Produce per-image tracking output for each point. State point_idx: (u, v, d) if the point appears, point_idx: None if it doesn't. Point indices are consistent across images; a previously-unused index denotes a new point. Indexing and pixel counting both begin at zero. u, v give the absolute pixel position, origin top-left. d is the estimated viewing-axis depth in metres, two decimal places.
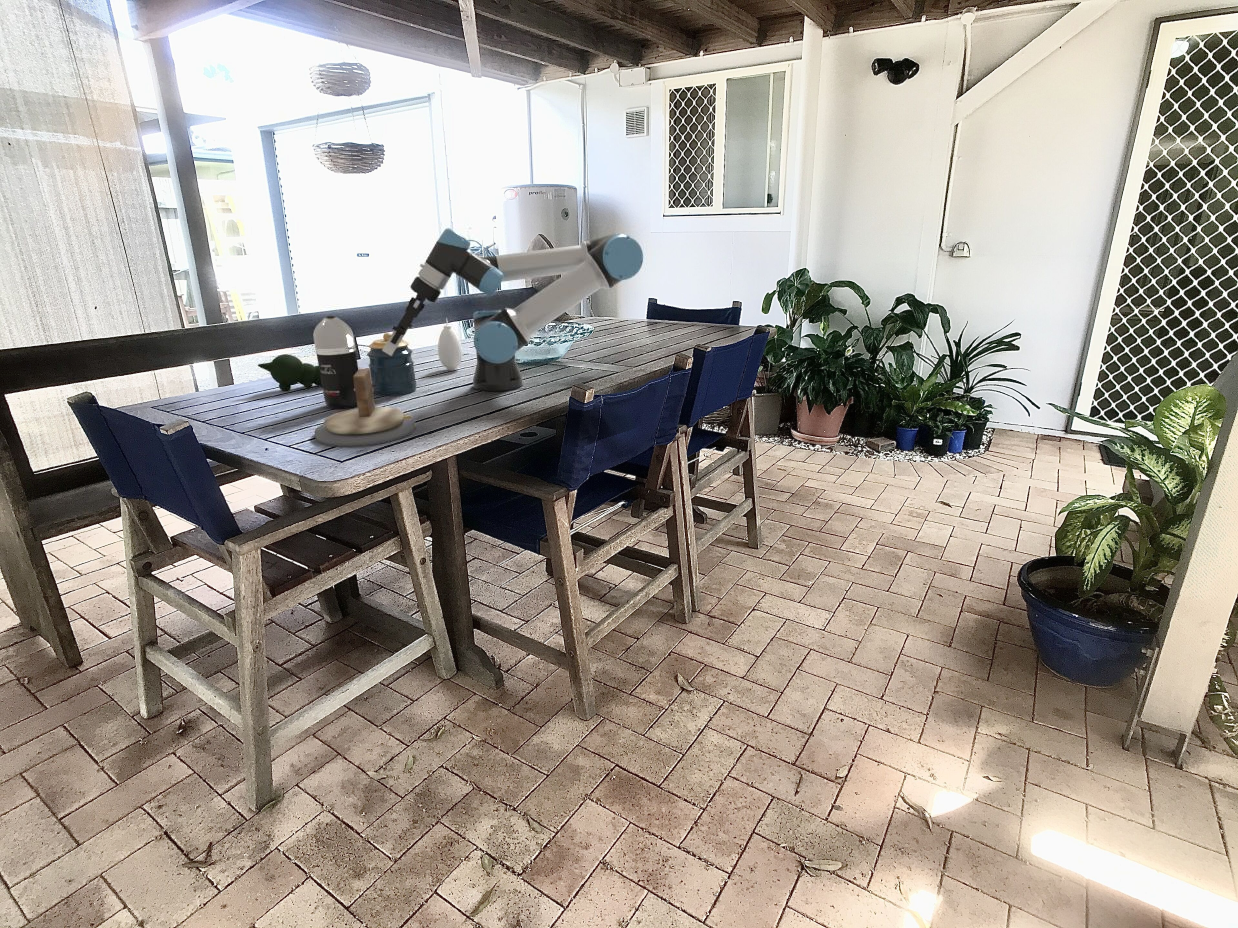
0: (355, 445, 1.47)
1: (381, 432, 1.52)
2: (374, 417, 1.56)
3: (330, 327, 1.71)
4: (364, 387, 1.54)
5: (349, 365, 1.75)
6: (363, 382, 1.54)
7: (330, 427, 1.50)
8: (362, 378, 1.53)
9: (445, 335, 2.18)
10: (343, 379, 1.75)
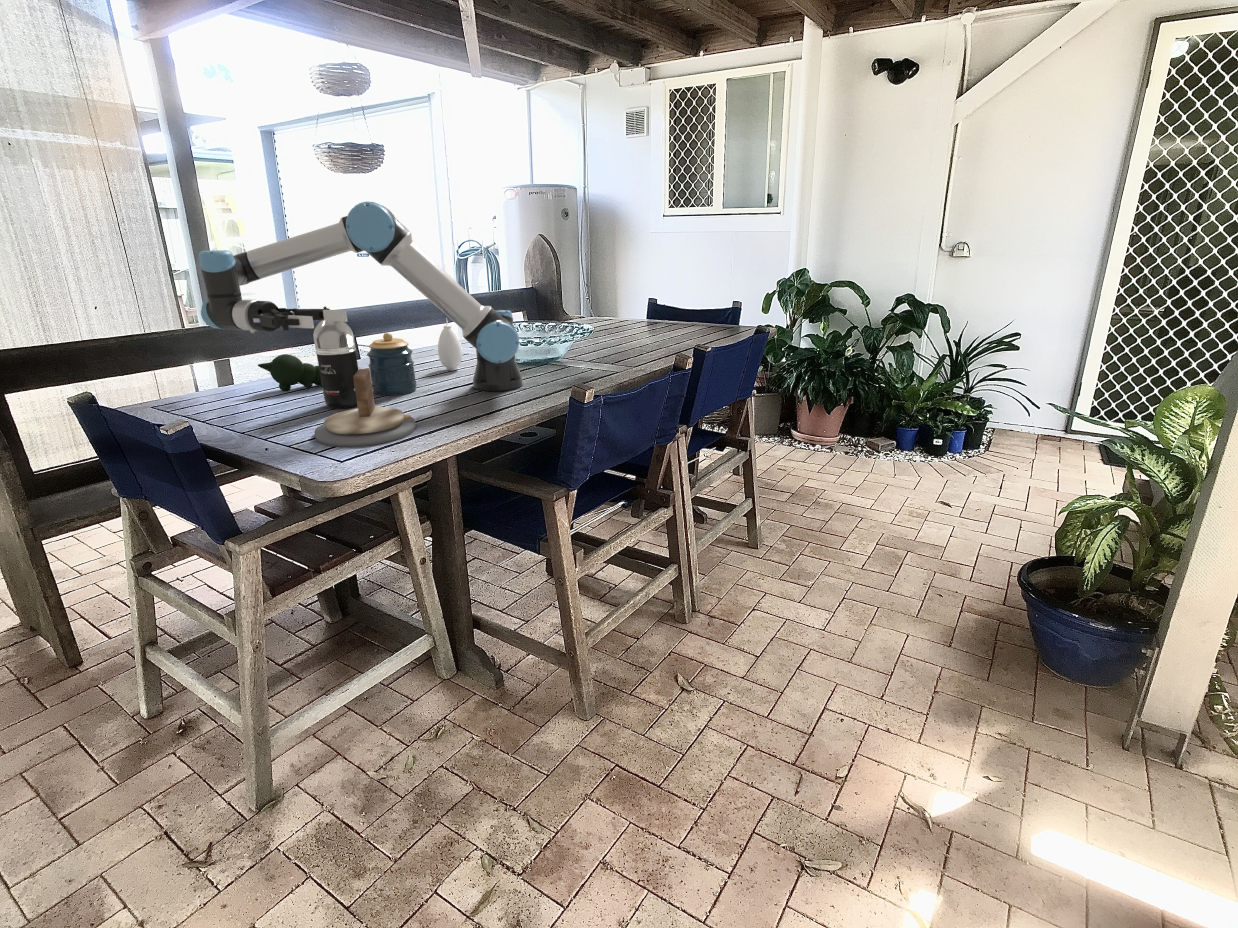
0: (355, 445, 1.47)
1: (381, 432, 1.52)
2: (374, 417, 1.56)
3: (330, 327, 1.71)
4: (364, 387, 1.54)
5: (349, 365, 1.75)
6: (363, 382, 1.54)
7: (330, 427, 1.50)
8: (362, 378, 1.53)
9: (445, 335, 2.18)
10: (343, 379, 1.75)
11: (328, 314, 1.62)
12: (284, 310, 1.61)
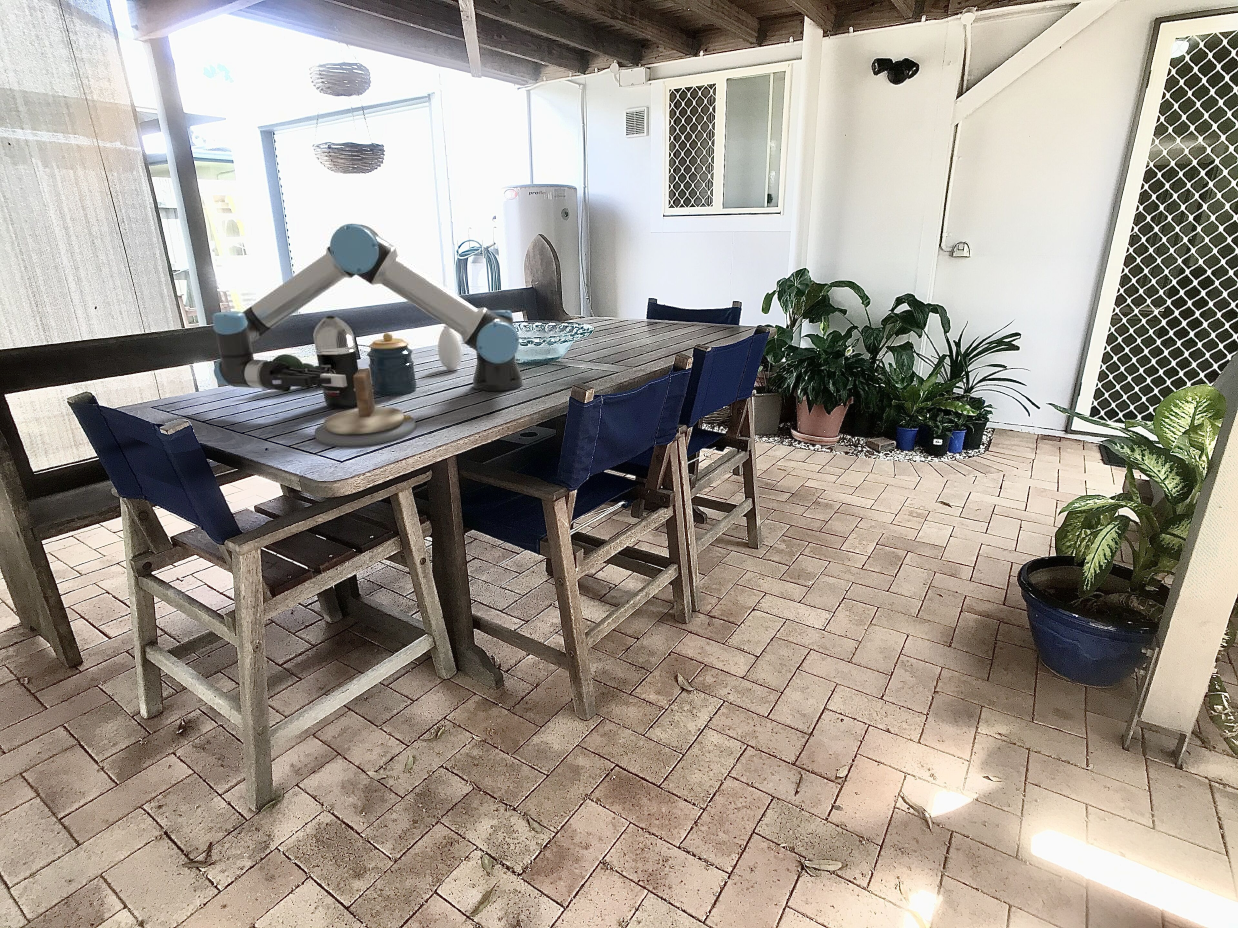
0: (355, 445, 1.47)
1: (381, 432, 1.52)
2: (374, 417, 1.56)
3: (330, 327, 1.71)
4: (364, 387, 1.54)
5: (349, 365, 1.75)
6: (363, 382, 1.54)
7: (330, 427, 1.50)
8: (362, 378, 1.53)
9: (445, 335, 2.18)
10: None
11: None
12: (292, 370, 1.66)
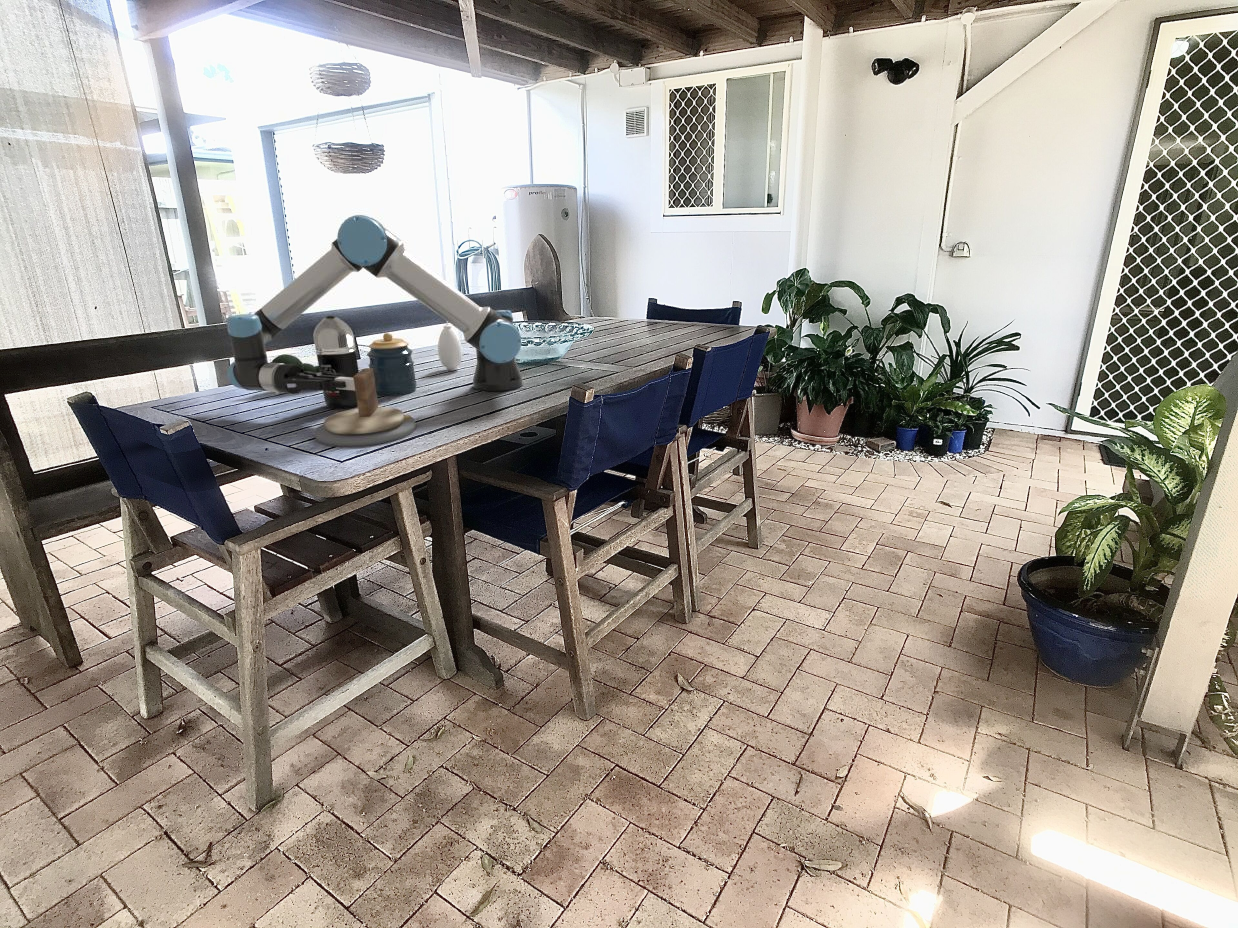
0: (355, 445, 1.47)
1: (381, 432, 1.52)
2: (373, 417, 1.56)
3: (330, 327, 1.71)
4: (364, 387, 1.54)
5: (349, 365, 1.75)
6: (363, 382, 1.54)
7: (328, 426, 1.51)
8: (362, 378, 1.53)
9: (445, 335, 2.18)
10: None
11: None
12: (307, 374, 1.65)
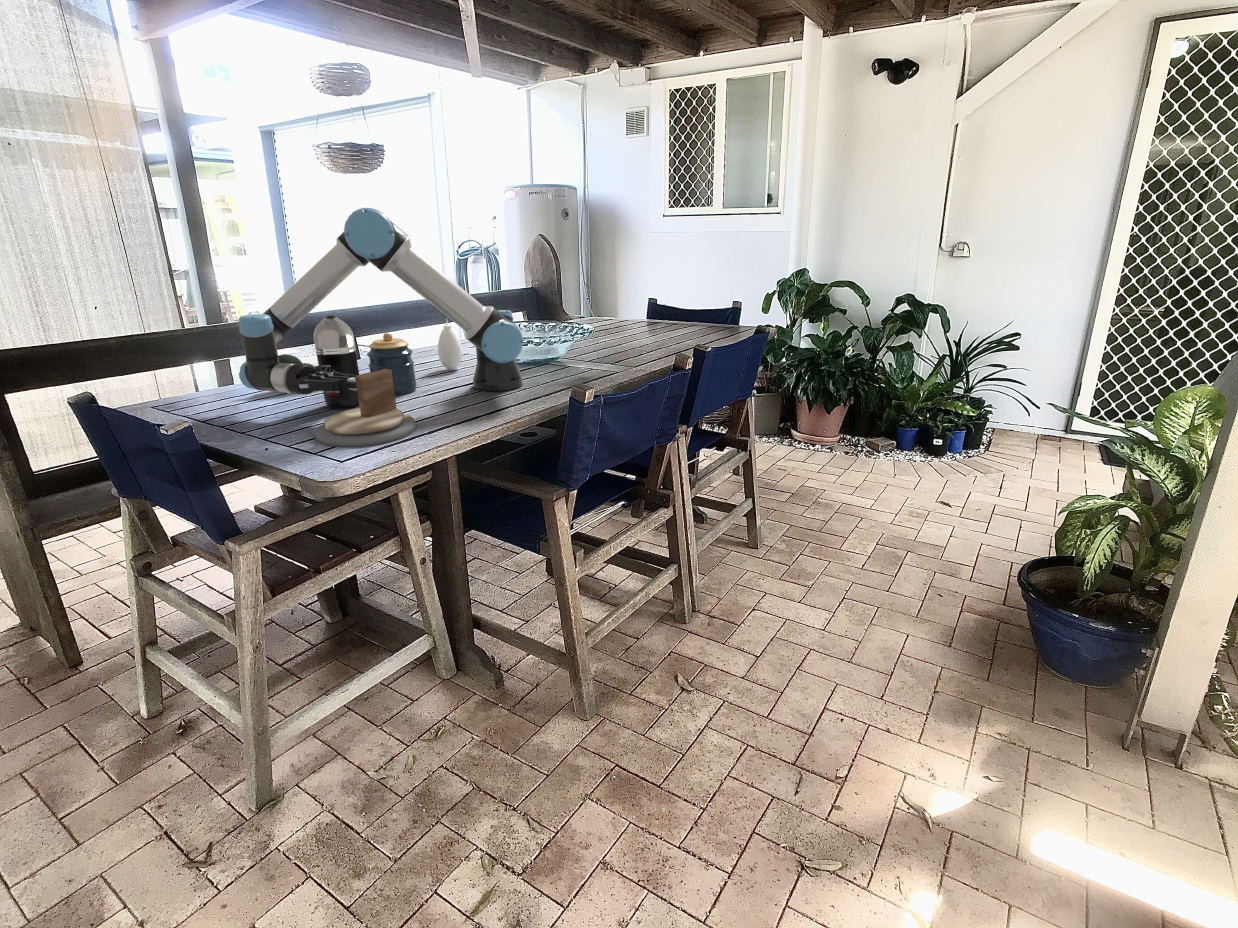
0: (355, 445, 1.47)
1: (381, 432, 1.52)
2: (368, 419, 1.55)
3: (330, 327, 1.71)
4: (363, 388, 1.54)
5: (349, 365, 1.75)
6: (362, 383, 1.53)
7: None
8: (361, 379, 1.53)
9: (445, 335, 2.18)
10: None
11: None
12: (319, 374, 1.64)
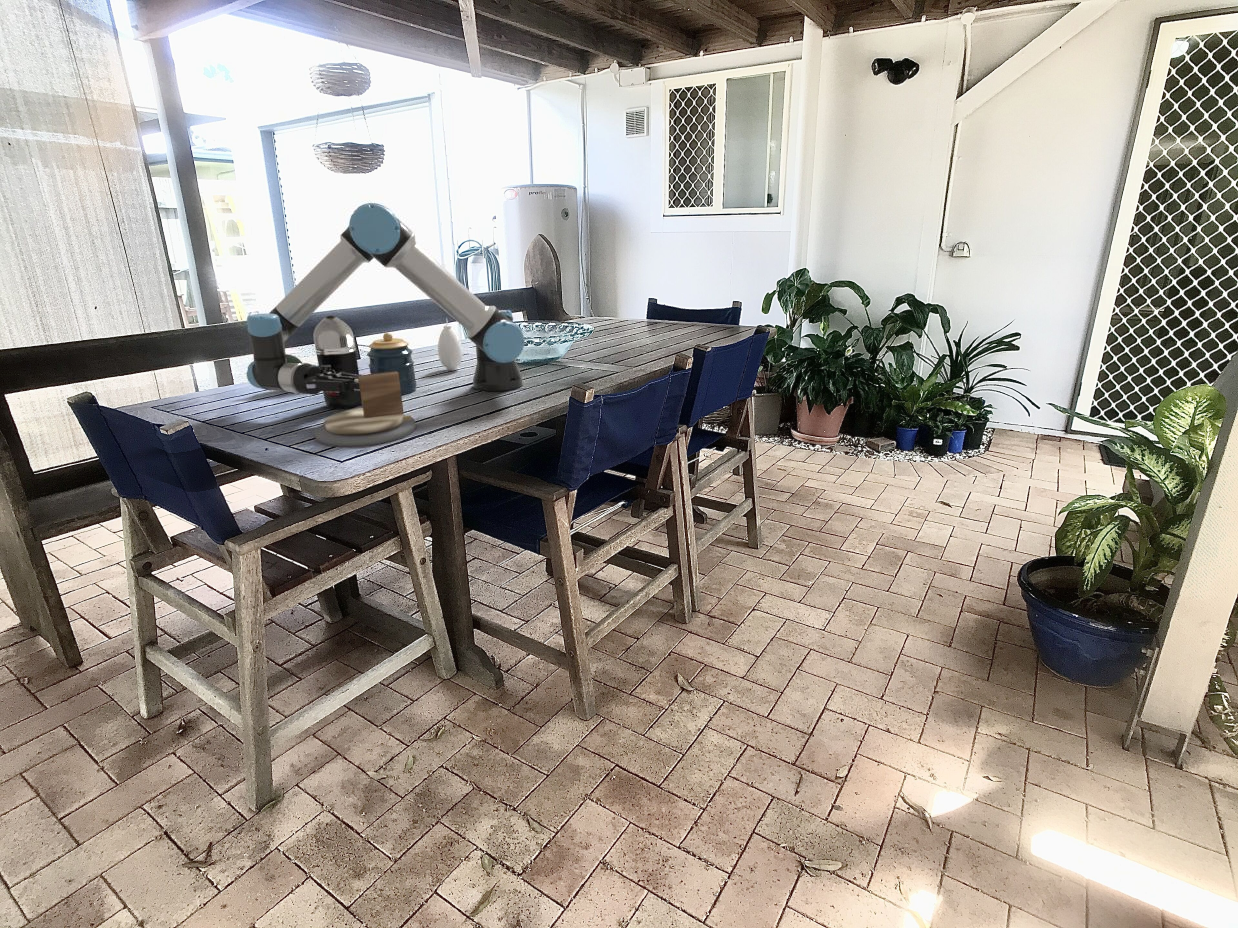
0: (355, 445, 1.47)
1: (381, 432, 1.52)
2: (361, 420, 1.54)
3: (330, 327, 1.71)
4: (360, 388, 1.53)
5: (349, 365, 1.75)
6: (359, 383, 1.53)
7: None
8: (359, 379, 1.52)
9: (445, 335, 2.18)
10: None
11: None
12: (327, 374, 1.63)
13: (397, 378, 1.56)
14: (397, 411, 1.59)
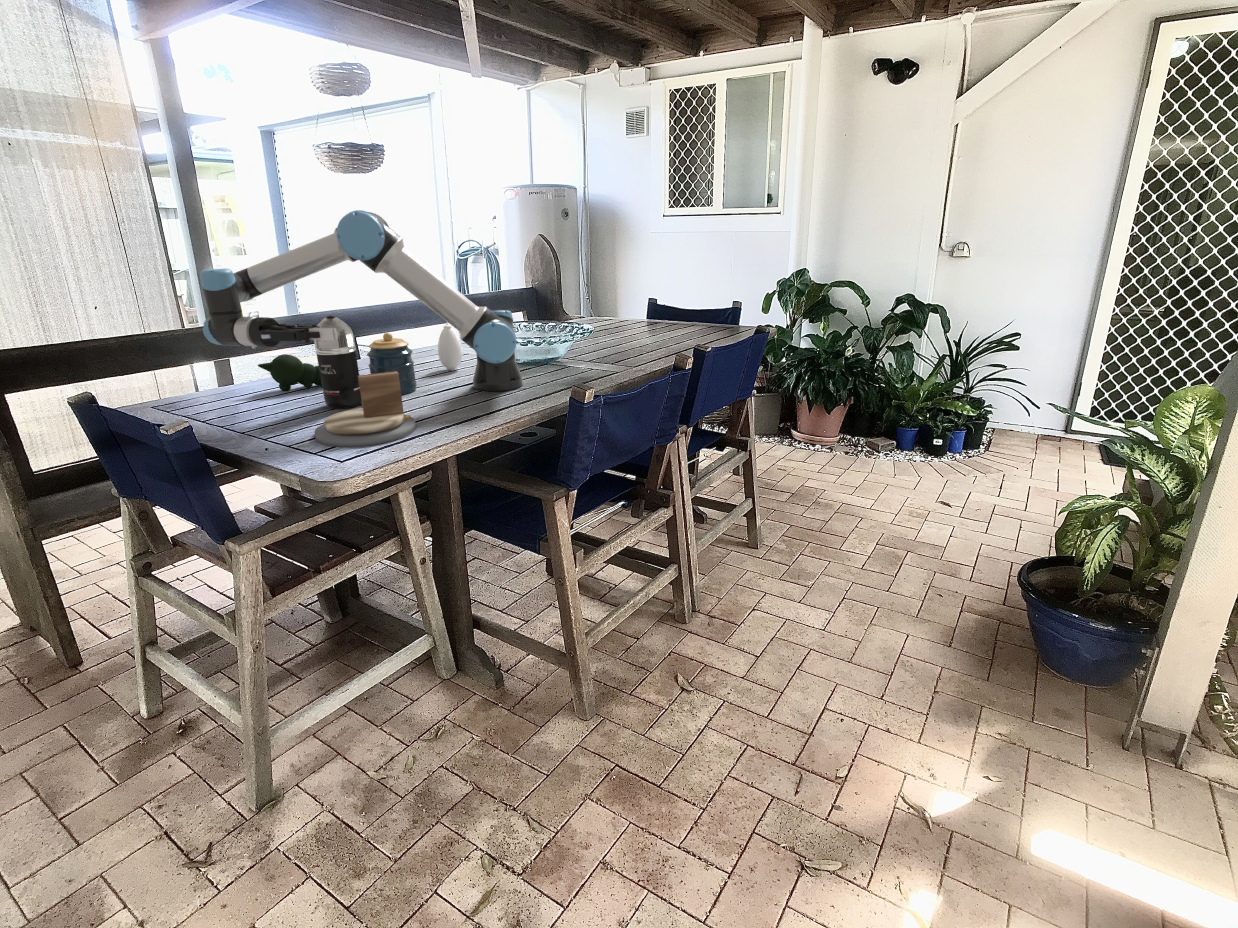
0: (355, 445, 1.47)
1: (381, 432, 1.52)
2: (361, 420, 1.54)
3: (330, 327, 1.71)
4: (360, 388, 1.53)
5: (349, 365, 1.75)
6: (359, 383, 1.53)
7: None
8: (359, 379, 1.52)
9: (445, 335, 2.18)
10: (343, 379, 1.75)
11: None
12: (282, 326, 1.65)
13: (397, 378, 1.56)
14: (397, 411, 1.59)
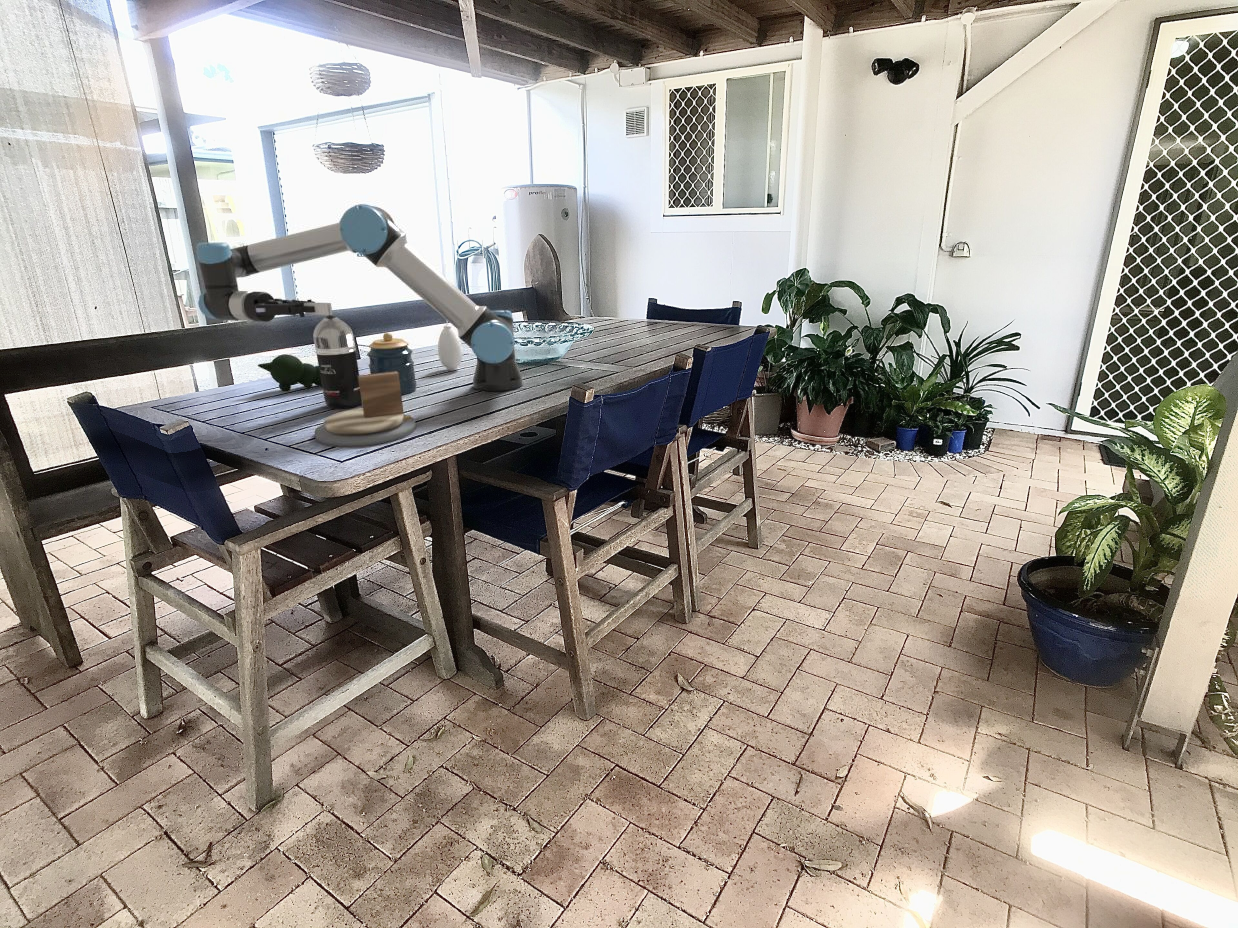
0: (355, 445, 1.47)
1: (381, 432, 1.52)
2: (361, 420, 1.54)
3: (330, 327, 1.71)
4: (360, 388, 1.53)
5: (349, 365, 1.75)
6: (359, 383, 1.53)
7: None
8: (359, 379, 1.52)
9: (445, 335, 2.18)
10: (343, 379, 1.75)
11: None
12: (277, 301, 1.65)
13: (397, 378, 1.56)
14: (397, 411, 1.59)
